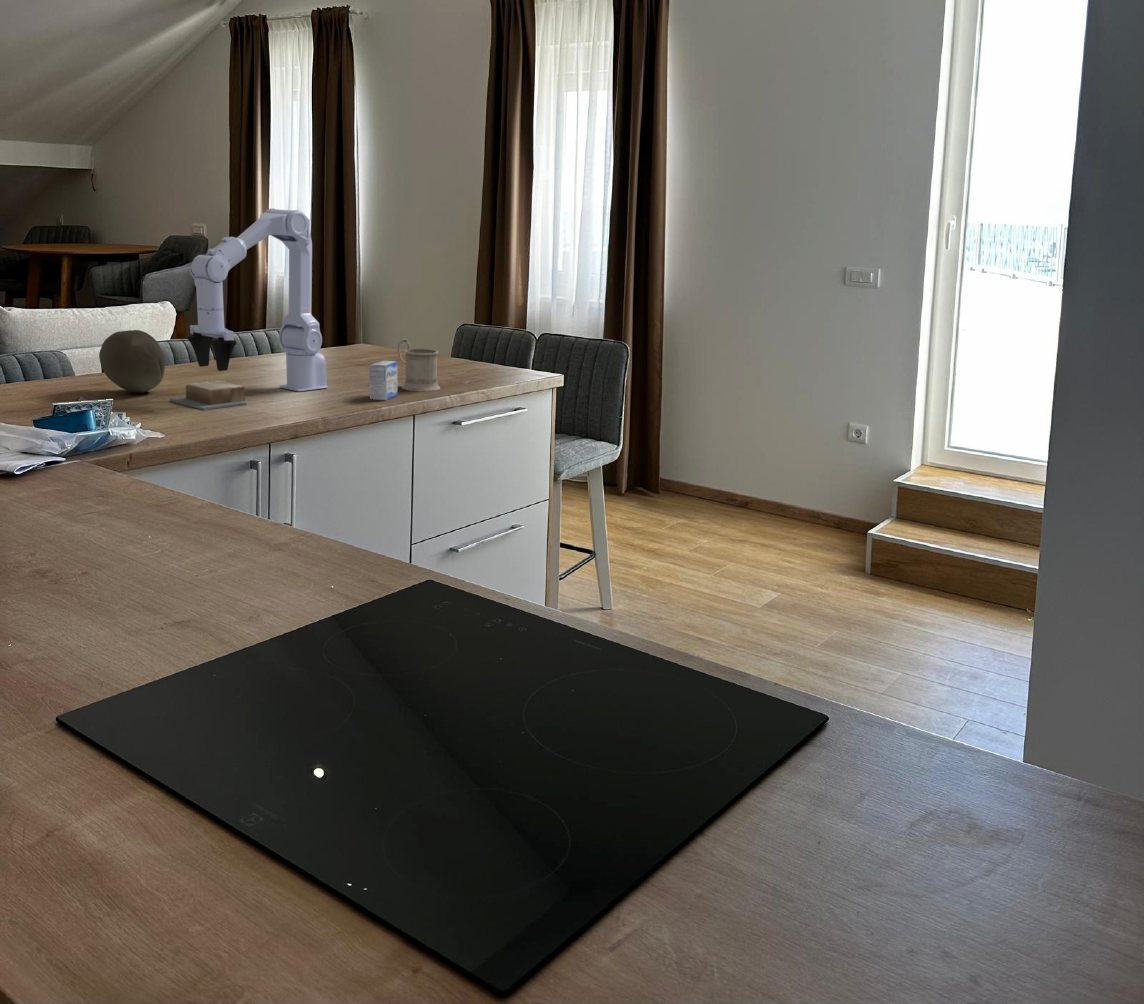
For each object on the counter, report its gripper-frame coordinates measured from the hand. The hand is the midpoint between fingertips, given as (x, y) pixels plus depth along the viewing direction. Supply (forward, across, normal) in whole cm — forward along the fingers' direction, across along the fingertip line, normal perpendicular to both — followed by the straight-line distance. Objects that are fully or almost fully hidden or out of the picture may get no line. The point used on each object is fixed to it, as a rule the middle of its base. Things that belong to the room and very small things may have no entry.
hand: (213, 368), depth 256 cm
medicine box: (+8, +19, +35) cm, 41 cm away
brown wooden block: (+6, 0, +5) cm, 8 cm away
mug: (+8, +12, +52) cm, 54 cm away
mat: (+8, 0, -2) cm, 8 cm away
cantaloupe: (+8, -21, -8) cm, 24 cm away
